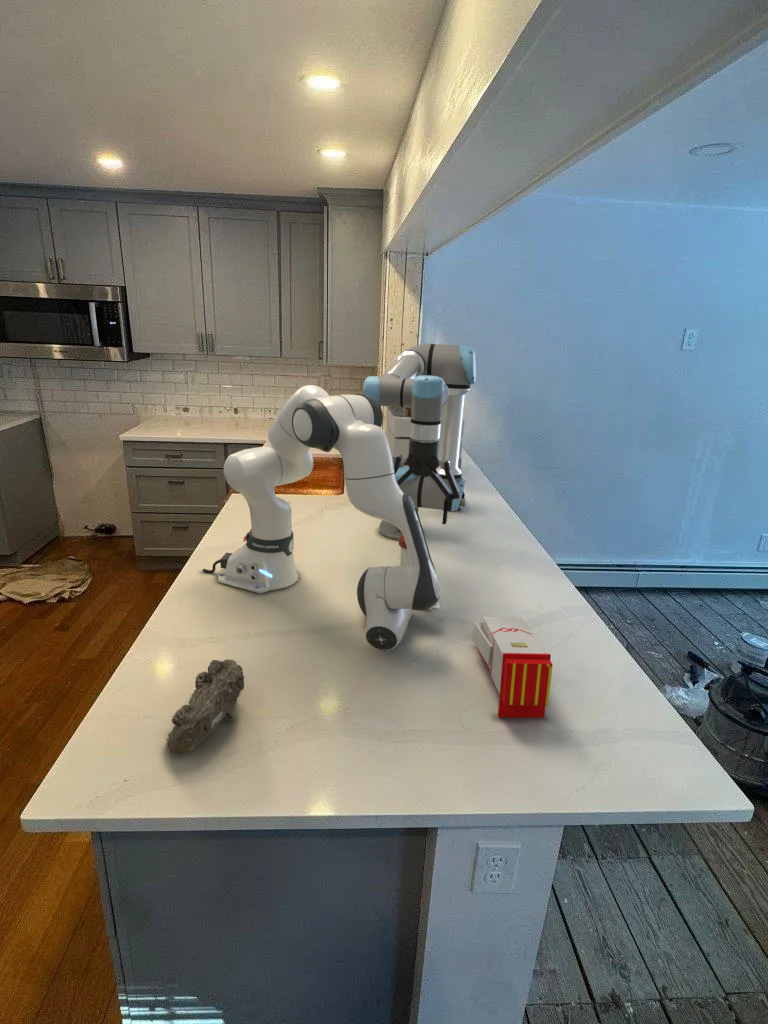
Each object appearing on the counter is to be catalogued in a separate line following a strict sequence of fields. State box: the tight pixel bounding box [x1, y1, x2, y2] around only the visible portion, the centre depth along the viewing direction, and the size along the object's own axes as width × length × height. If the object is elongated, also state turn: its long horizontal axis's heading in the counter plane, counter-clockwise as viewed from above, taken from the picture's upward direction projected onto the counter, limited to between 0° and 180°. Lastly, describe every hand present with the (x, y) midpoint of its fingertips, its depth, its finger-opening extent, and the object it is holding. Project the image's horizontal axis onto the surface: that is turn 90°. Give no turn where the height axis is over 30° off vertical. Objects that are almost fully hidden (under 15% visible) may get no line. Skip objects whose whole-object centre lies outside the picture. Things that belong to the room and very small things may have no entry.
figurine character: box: [457, 490, 466, 511], centre depth 229 cm, size 7×8×15 cm
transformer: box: [385, 406, 465, 471], centre depth 268 cm, size 34×33×41 cm
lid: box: [398, 535, 407, 549], centre depth 150 cm, size 6×6×2 cm
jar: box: [398, 546, 412, 566], centre depth 153 cm, size 6×6×17 cm
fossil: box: [166, 658, 245, 754], centre depth 106 cm, size 22×10×15 cm
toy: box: [472, 616, 553, 719], centre depth 122 cm, size 12×13×30 cm
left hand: (406, 580), depth 152 cm, fingers open, 8 cm apart
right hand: (418, 519), depth 149 cm, fingers open, 13 cm apart
